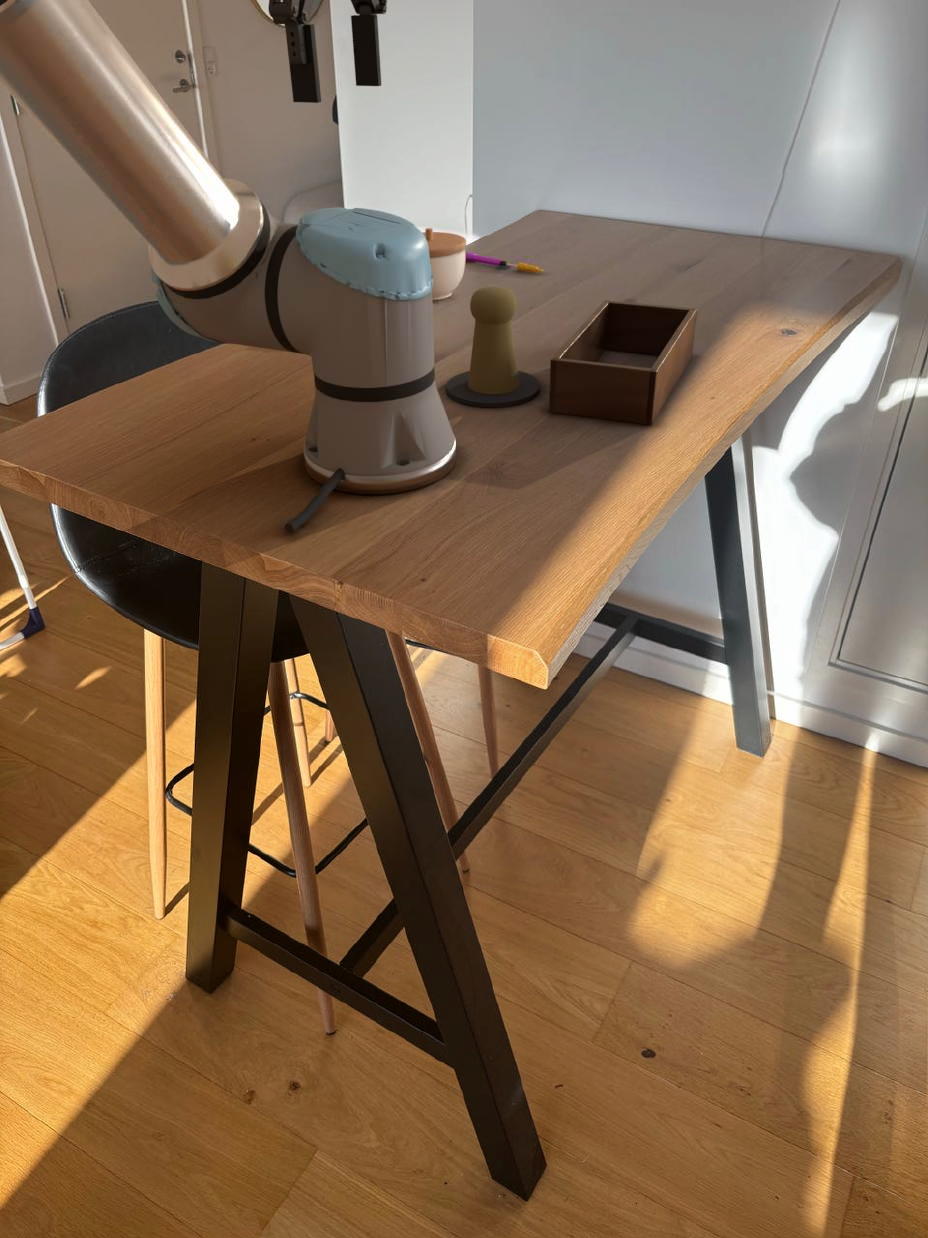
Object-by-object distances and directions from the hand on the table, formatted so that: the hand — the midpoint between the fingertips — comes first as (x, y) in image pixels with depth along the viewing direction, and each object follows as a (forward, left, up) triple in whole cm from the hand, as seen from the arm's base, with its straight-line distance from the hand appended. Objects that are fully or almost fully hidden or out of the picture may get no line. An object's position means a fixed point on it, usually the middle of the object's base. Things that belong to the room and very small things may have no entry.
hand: (339, 93), depth 101 cm
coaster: (+2, -16, -31) cm, 35 cm away
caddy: (+9, -30, -31) cm, 44 cm away
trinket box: (+35, +6, -31) cm, 47 cm away
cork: (+2, -16, -30) cm, 34 cm away
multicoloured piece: (+53, +1, -31) cm, 61 cm away
